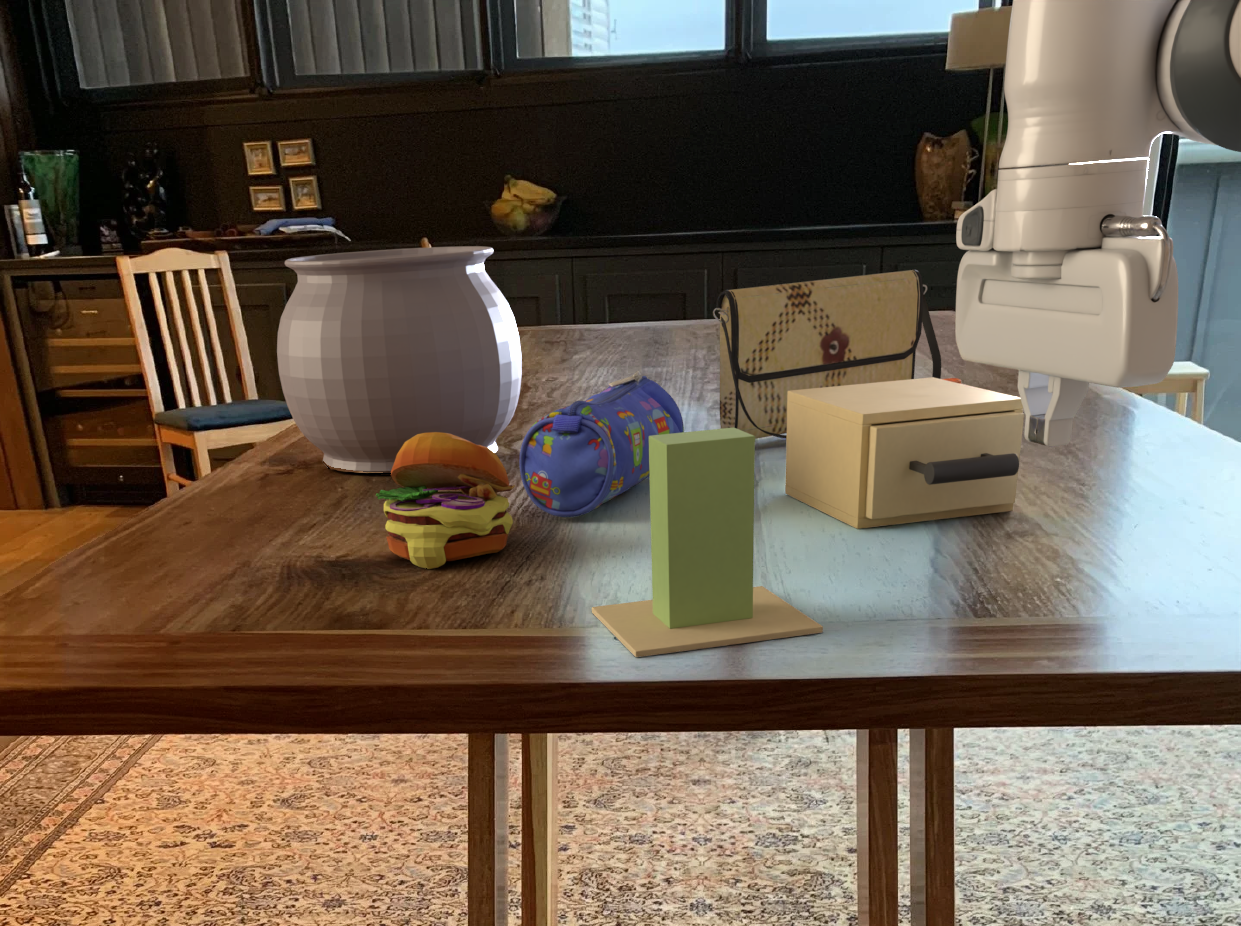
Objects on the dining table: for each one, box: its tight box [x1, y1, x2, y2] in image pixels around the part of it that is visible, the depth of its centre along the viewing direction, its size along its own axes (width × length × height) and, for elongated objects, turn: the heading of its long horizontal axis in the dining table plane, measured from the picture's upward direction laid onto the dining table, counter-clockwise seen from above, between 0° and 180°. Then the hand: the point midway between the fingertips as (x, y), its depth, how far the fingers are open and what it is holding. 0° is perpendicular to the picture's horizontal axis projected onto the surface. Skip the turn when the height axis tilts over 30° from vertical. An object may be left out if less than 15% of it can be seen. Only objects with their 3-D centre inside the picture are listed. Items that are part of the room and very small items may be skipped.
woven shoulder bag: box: [712, 268, 942, 440], centre depth 138 cm, size 30×7×15 cm, turn 123°
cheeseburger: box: [375, 432, 516, 570], centre depth 101 cm, size 10×11×10 cm
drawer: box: [865, 412, 1025, 519], centre depth 105 cm, size 18×12×7 cm
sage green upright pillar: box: [649, 427, 756, 629], centre depth 81 cm, size 6×4×11 cm, turn 105°
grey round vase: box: [276, 245, 523, 473], centre depth 135 cm, size 25×25×20 cm
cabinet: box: [784, 376, 1024, 530], centre depth 108 cm, size 15×14×9 cm
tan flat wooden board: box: [591, 585, 824, 658], centre depth 83 cm, size 12×10×1 cm
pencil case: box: [518, 370, 685, 518], centre depth 116 cm, size 22×9×10 cm, turn 159°
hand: (1046, 443), depth 89 cm, fingers closed
